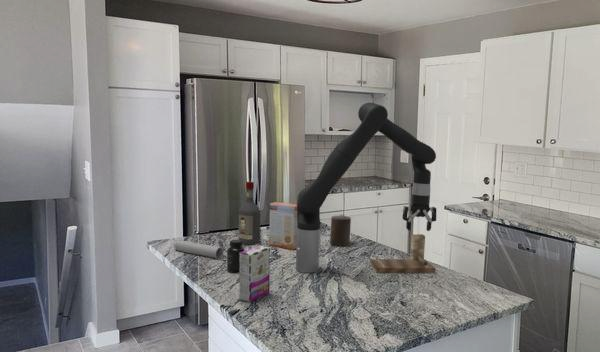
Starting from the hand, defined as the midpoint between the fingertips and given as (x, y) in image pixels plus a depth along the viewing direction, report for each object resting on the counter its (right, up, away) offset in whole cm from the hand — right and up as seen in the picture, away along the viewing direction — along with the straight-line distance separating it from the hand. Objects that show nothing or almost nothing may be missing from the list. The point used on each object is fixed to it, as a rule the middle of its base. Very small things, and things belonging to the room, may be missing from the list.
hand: (418, 230), depth 201 cm
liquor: (-77, -9, +27) cm, 82 cm away
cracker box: (-59, -11, +22) cm, 64 cm away
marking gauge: (0, -15, -3) cm, 15 cm away
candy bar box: (-67, -18, -43) cm, 81 cm away
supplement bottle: (-77, -14, -15) cm, 80 cm away
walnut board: (-9, -15, -7) cm, 19 cm away
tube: (-97, -12, +6) cm, 98 cm away
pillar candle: (-32, -11, +29) cm, 44 cm away
